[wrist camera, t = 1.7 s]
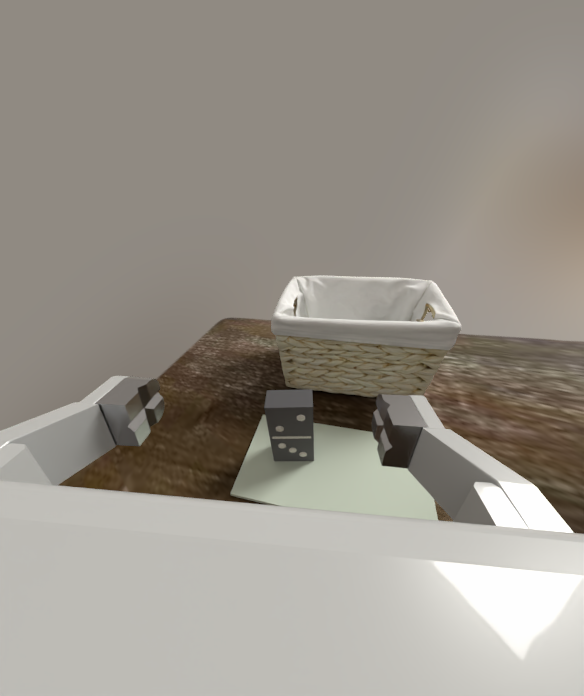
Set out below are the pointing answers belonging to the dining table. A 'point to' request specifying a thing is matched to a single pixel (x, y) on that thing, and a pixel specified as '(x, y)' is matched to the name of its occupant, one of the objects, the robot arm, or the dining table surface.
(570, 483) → the dining table surface
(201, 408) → the dining table surface
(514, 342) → the dining table surface
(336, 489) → the mat
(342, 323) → the storage basket
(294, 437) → the domino
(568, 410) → the dining table surface
